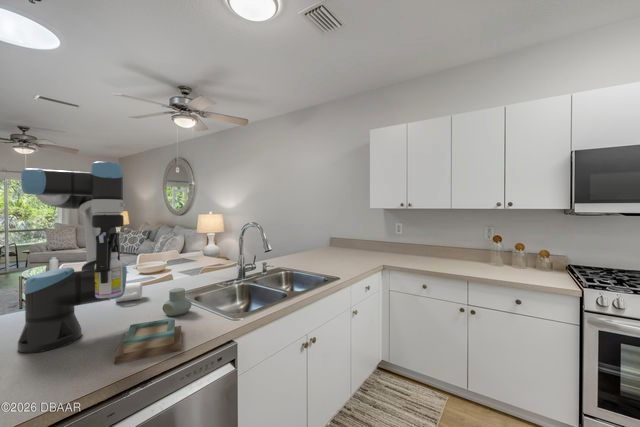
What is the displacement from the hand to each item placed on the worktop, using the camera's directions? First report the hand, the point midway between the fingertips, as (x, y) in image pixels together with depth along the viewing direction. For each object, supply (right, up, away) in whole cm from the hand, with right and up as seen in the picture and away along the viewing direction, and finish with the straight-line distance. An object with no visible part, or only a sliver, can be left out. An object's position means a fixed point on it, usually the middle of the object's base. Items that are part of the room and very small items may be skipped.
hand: (109, 290), depth 83 cm
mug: (-28, -19, +48) cm, 58 cm away
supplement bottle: (0, -2, 0) cm, 2 cm away
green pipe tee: (+3, -19, +33) cm, 38 cm away
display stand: (+9, -19, +6) cm, 22 cm away
